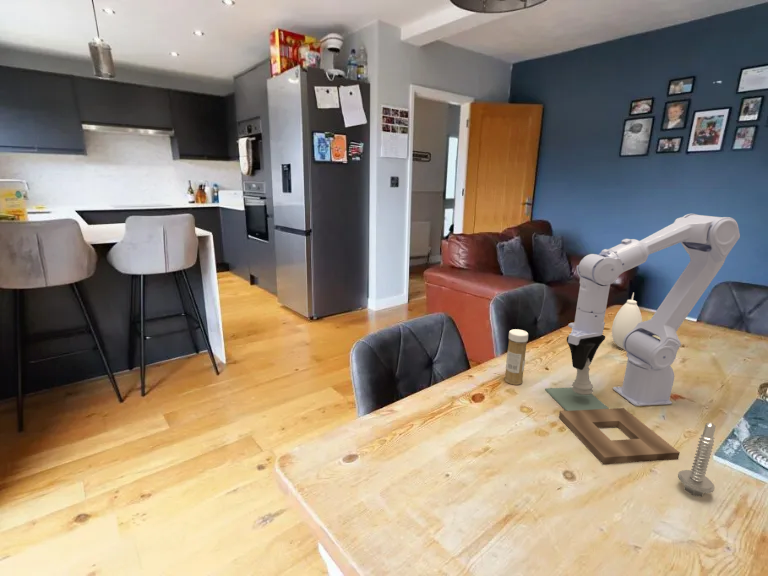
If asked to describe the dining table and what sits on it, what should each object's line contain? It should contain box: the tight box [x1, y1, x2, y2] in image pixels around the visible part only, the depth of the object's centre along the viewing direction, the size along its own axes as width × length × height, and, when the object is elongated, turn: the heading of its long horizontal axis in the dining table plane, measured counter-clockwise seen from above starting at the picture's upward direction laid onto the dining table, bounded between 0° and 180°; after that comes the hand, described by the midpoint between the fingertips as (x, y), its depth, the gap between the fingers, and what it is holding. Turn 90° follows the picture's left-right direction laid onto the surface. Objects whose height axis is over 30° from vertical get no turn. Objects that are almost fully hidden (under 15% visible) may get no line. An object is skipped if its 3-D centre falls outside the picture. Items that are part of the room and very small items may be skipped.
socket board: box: [558, 407, 680, 465], centre depth 81 cm, size 15×15×2 cm
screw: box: [677, 422, 716, 498], centre depth 65 cm, size 13×5×5 cm
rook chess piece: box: [571, 358, 594, 395], centre depth 92 cm, size 4×4×8 cm
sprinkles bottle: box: [503, 328, 529, 386], centre depth 101 cm, size 5×5×13 cm
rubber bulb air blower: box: [611, 292, 643, 350], centre depth 123 cm, size 8×8×18 cm
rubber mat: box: [544, 386, 610, 411], centre depth 94 cm, size 10×10×1 cm
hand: (581, 365), depth 92 cm, fingers closed on rook chess piece, 3 cm apart
